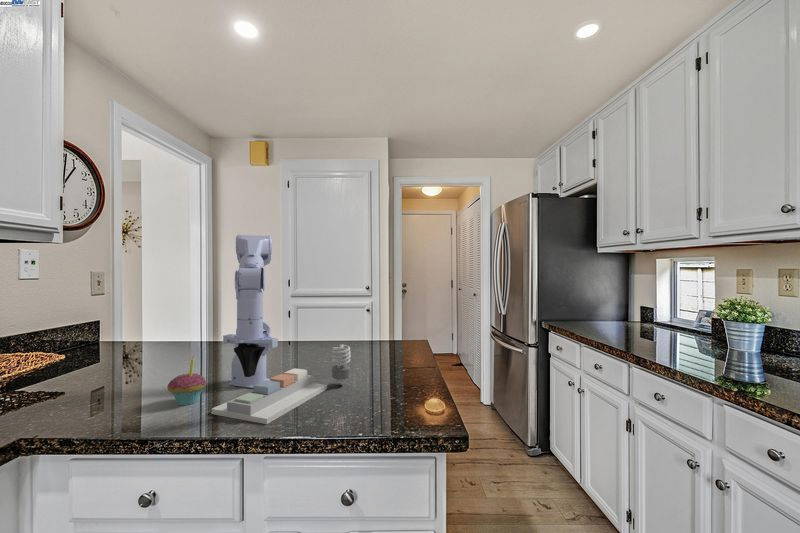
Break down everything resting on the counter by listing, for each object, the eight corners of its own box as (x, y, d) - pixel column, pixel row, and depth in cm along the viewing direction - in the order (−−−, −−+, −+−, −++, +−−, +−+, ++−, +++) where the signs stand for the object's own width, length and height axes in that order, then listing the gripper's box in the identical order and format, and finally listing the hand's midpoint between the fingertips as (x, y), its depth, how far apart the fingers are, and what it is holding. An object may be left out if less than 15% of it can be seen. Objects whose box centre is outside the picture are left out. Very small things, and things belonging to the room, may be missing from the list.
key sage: (235, 408, 85) (235, 398, 85) (248, 401, 89) (248, 392, 89) (250, 410, 84) (250, 401, 84) (263, 404, 88) (263, 394, 88)
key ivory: (284, 380, 102) (284, 372, 102) (294, 375, 106) (294, 368, 106) (297, 382, 101) (297, 374, 101) (307, 377, 105) (307, 369, 105)
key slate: (253, 394, 91) (253, 385, 91) (265, 388, 95) (265, 380, 95) (268, 396, 89) (268, 387, 89) (279, 390, 94) (279, 382, 94)
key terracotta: (269, 386, 97) (270, 378, 97) (280, 381, 101) (280, 373, 101) (283, 388, 95) (283, 380, 95) (294, 383, 99) (294, 375, 99)
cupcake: (213, 398, 96) (213, 353, 96) (185, 410, 88) (185, 360, 88) (188, 394, 99) (189, 350, 99) (159, 405, 91) (159, 357, 91)
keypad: (211, 413, 86) (211, 399, 86) (280, 382, 110) (280, 371, 110) (266, 424, 81) (266, 408, 81) (327, 389, 104) (327, 377, 104)
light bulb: (346, 388, 104) (347, 346, 104) (328, 387, 105) (328, 345, 105) (353, 382, 110) (353, 342, 110) (335, 381, 111) (335, 341, 111)
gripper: (212, 318, 85) (212, 377, 85) (263, 322, 80) (262, 384, 80) (235, 315, 92) (235, 369, 92) (283, 318, 87) (283, 375, 87)
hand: (249, 375), depth 87 cm, fingers closed
